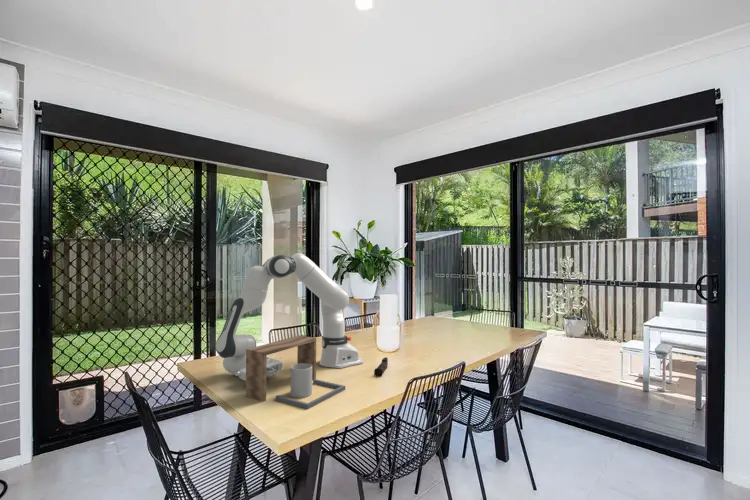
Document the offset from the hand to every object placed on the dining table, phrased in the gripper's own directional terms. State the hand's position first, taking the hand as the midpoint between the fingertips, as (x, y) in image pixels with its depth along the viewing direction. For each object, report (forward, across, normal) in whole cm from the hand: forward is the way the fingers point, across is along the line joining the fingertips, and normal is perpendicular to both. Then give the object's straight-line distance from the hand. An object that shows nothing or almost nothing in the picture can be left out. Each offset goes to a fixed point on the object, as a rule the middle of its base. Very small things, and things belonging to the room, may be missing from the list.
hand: (274, 373), depth 159 cm
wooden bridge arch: (+5, 0, +5) cm, 7 cm away
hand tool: (+28, +42, +5) cm, 51 cm away
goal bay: (+20, 0, +5) cm, 21 cm away
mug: (+16, 0, +5) cm, 17 cm away
